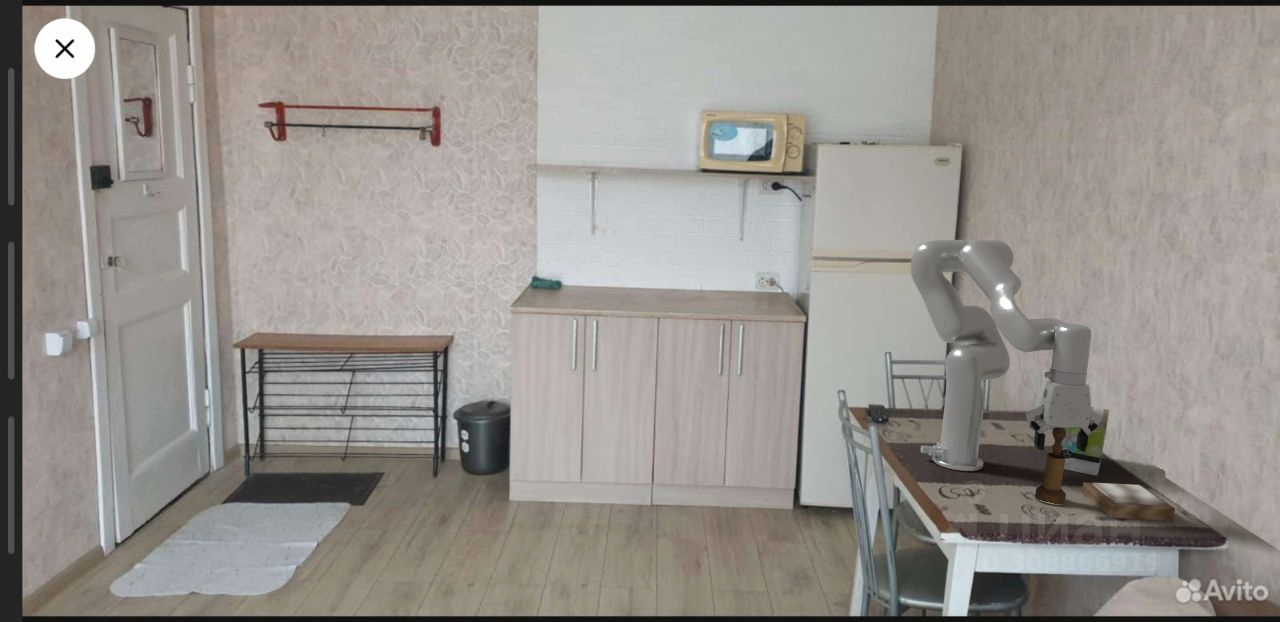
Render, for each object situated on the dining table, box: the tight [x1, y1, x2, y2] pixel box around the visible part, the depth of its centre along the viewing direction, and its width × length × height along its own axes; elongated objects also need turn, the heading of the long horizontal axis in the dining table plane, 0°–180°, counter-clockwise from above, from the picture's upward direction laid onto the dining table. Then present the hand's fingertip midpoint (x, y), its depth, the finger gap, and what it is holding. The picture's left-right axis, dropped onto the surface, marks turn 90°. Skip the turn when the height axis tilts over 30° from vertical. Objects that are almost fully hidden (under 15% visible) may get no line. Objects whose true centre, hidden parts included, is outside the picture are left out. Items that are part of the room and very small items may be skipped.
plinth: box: [1081, 481, 1176, 522], centre depth 208 cm, size 14×14×4 cm
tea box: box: [1061, 406, 1110, 477], centre depth 236 cm, size 15×10×15 cm
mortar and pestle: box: [1034, 427, 1067, 505], centre depth 209 cm, size 7×6×18 cm
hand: (1059, 449), depth 208 cm, fingers open, 9 cm apart
